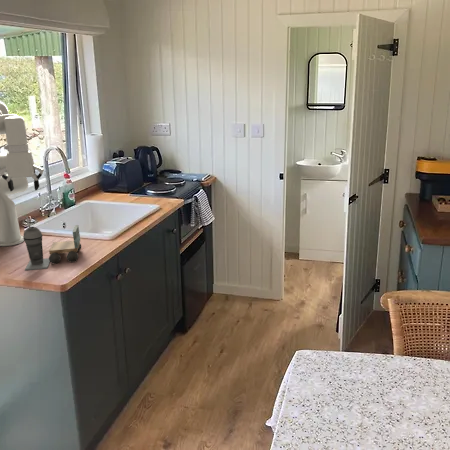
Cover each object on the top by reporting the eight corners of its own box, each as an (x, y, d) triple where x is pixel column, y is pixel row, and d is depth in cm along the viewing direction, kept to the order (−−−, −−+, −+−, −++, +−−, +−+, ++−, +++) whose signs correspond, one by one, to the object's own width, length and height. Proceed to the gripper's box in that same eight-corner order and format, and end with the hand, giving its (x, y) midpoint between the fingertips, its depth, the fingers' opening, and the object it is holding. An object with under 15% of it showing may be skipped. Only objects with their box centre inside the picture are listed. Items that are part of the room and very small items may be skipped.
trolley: (49, 264, 203) (45, 235, 200) (55, 252, 216) (50, 225, 212) (78, 261, 205) (74, 233, 201) (82, 250, 217) (78, 223, 213)
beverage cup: (40, 267, 199) (32, 219, 193) (24, 266, 201) (15, 219, 194) (50, 260, 206) (42, 214, 200) (34, 259, 208) (26, 213, 201)
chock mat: (25, 270, 198) (24, 269, 198) (30, 261, 208) (30, 259, 207) (47, 268, 199) (47, 267, 199) (51, 259, 209) (51, 257, 209)
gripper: (-8, 151, 193) (-1, 193, 199) (38, 149, 196) (44, 191, 202) (-2, 147, 200) (4, 188, 206) (42, 146, 203) (48, 186, 209)
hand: (24, 189), depth 204 cm, fingers open, 9 cm apart
